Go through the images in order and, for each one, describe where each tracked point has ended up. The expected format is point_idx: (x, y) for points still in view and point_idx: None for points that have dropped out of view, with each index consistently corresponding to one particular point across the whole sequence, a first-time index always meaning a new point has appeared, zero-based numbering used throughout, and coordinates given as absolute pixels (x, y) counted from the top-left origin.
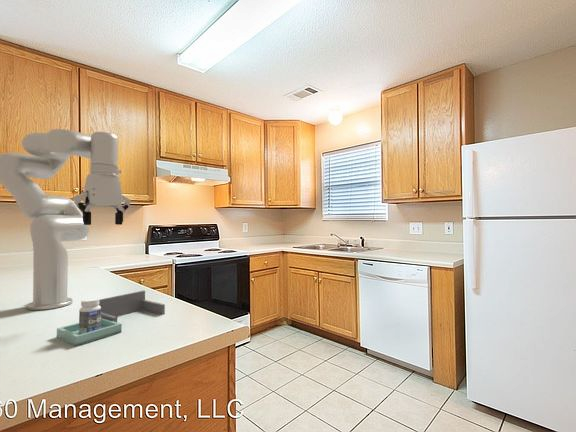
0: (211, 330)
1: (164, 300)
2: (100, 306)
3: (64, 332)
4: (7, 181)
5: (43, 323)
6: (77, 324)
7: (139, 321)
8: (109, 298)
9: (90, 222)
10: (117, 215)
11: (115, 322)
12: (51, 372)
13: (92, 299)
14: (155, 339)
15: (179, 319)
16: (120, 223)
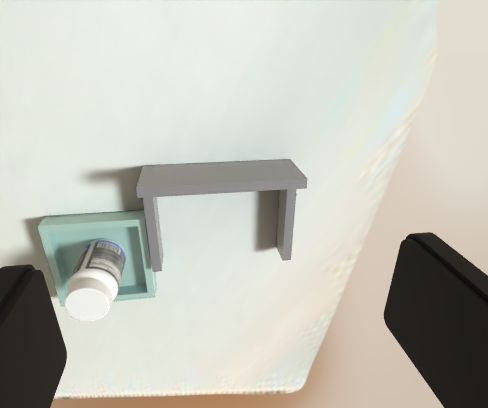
0: (259, 374)
1: (380, 129)
2: (115, 295)
3: (48, 259)
4: None
5: (34, 59)
6: (84, 229)
7: (217, 251)
8: (185, 194)
9: (52, 380)
10: (471, 363)
11: (150, 280)
12: None
13: (91, 306)
14: (178, 351)
15: (272, 298)
16: (391, 324)
